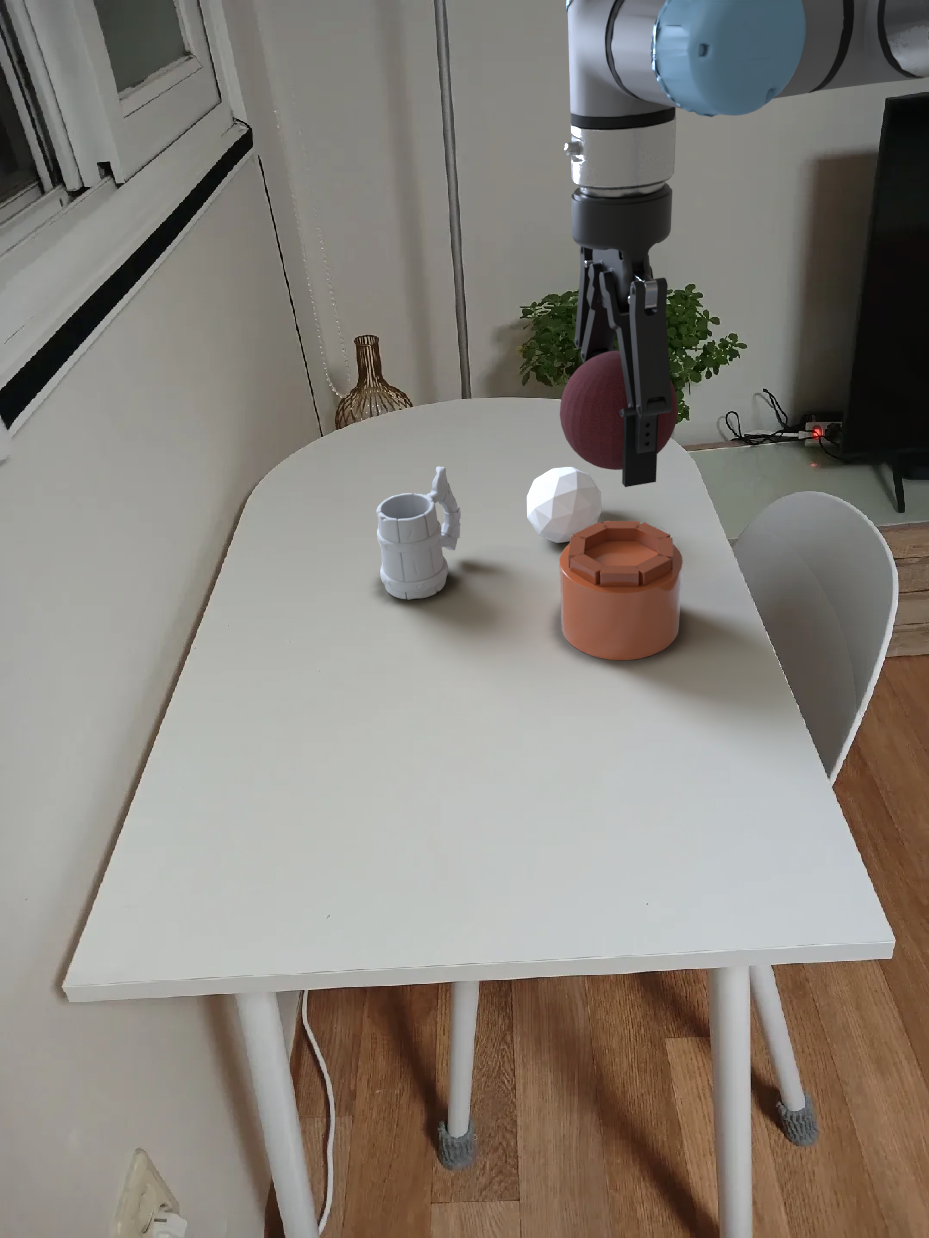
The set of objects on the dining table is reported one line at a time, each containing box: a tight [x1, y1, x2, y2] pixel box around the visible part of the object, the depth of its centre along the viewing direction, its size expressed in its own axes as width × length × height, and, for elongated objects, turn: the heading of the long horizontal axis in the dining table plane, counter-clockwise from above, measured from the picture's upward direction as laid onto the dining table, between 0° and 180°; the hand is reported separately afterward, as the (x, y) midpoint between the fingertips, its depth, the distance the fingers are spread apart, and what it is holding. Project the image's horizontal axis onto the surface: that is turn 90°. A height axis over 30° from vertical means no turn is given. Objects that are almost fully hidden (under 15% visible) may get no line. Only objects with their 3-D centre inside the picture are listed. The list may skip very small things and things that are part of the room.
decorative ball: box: [559, 350, 679, 471], centre depth 82 cm, size 10×10×10 cm
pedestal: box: [559, 520, 684, 661], centre depth 96 cm, size 12×12×10 cm
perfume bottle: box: [526, 466, 603, 544], centre depth 113 cm, size 9×9×12 cm
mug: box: [376, 465, 462, 600], centre depth 106 cm, size 8×12×12 cm, turn 140°
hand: (618, 456), depth 84 cm, fingers closed on decorative ball, 10 cm apart
